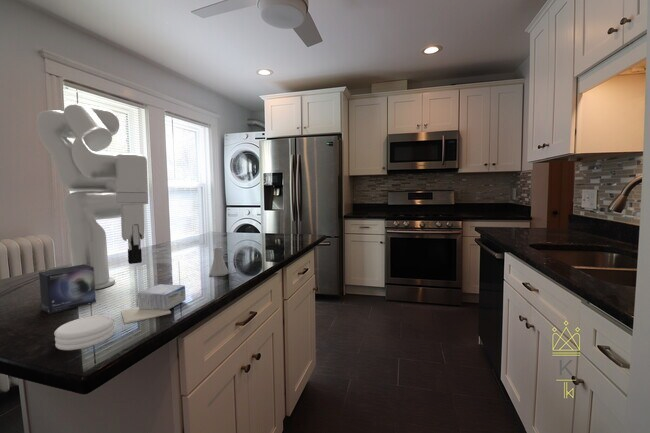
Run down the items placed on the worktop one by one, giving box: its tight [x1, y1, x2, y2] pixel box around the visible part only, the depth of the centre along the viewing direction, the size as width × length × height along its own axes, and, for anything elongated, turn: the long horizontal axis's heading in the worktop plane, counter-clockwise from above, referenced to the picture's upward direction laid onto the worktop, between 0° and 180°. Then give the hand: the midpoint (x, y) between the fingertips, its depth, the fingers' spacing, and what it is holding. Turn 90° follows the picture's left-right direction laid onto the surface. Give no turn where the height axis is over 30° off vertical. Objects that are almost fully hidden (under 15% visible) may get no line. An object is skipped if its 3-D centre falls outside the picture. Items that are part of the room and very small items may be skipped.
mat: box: [120, 306, 172, 325], centre depth 80 cm, size 10×10×1 cm
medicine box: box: [137, 283, 187, 310], centre depth 84 cm, size 8×4×9 cm
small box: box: [38, 264, 97, 315], centre depth 85 cm, size 11×6×10 cm, turn 148°
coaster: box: [53, 314, 116, 351], centre depth 66 cm, size 10×10×4 cm
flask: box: [208, 247, 230, 277], centre depth 116 cm, size 7×7×10 cm
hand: (135, 262), depth 89 cm, fingers closed
